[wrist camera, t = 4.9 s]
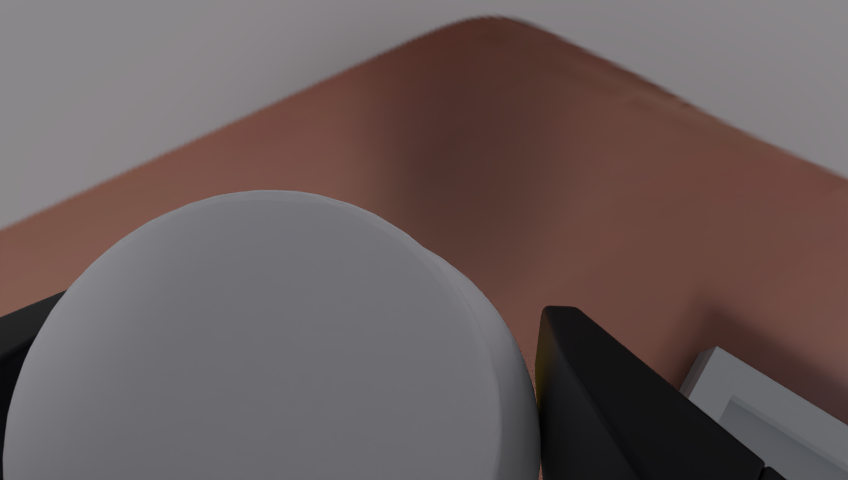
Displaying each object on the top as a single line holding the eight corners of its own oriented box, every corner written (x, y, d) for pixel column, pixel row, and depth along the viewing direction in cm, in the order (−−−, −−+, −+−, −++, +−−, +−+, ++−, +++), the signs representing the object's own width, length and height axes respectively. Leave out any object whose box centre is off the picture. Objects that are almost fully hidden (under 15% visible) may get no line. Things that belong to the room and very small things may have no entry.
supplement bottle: (310, 285, 16) (145, 25, 7) (533, 386, 15) (699, 253, 6) (188, 519, 14) (-249, 609, 5) (429, 643, 14) (433, 1011, 4)
